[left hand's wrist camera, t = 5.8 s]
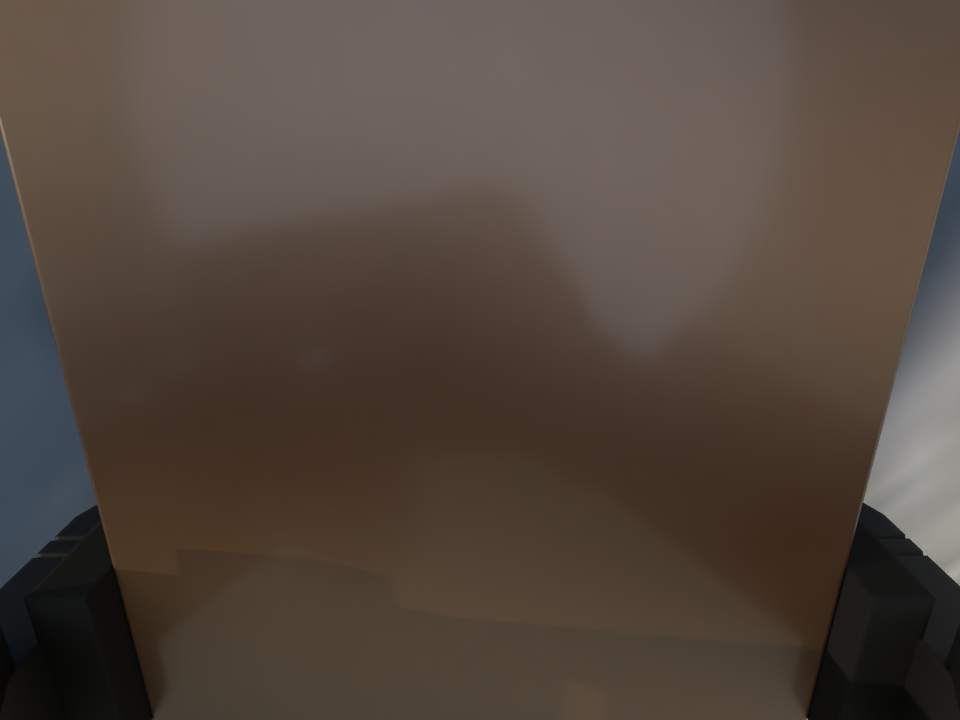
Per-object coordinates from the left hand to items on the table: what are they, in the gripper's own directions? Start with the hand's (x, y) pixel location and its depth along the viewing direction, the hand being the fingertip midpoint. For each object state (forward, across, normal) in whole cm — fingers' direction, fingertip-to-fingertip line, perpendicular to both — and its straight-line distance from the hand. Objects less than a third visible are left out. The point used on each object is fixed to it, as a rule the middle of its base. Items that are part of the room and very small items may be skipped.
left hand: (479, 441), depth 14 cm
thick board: (+1, 0, -31) cm, 31 cm away
